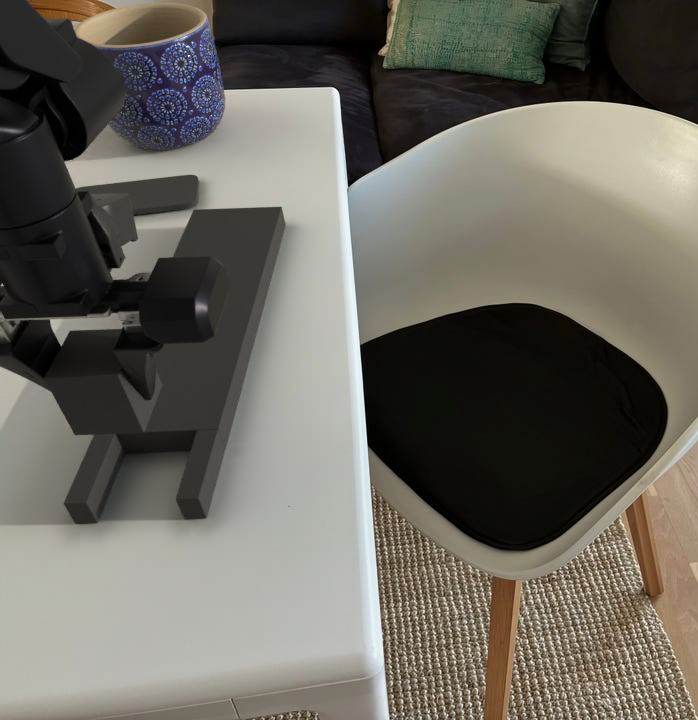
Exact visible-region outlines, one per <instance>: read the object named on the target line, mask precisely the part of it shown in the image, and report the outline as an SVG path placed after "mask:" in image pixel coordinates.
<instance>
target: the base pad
mask: <svg viewBox="0 0 698 720" xmlns="http://www.w3.org/2000/svg"><path fill="white" fill-rule="evenodd" d="M285 220H286V219H285V216H284V211H283V207H282V206H258V207H256V206H255V207H232V208H231V207H230V208H229V207H228V208H227V207H225V208H202V209H201V208H200V209H199V208H198V209H197V208H196V209H193V210H192V212H191V215H190V217H189V219H188V221H187V224H186V226H185V227H184V229H183V233H182V235H181V237H180V240H179V242H178V244H177V246H176V248H175V251H174V253H173V254H172V257H198V256H212V257H214V258H216V259H217V260H218V261H219V262H220V263H221V264H222V265H223V266H224V267H225V268H226V272H227V275H228V279H229V282H230V286H231V288H230V291H229V294H228V297H227V300H226V303H225V306H224V309H223V312H222V315H221V318H220V321H219V324H218V327H217V330H216V333H215V336H214V337H212V338H210V339H209V340H207V341H205V342H203V343H175V344H165V346H164V347H163V349H162V350H160V351H158V352H157V363H156V370H157V373H158V375H159V378H160V380H161V382H162V388H161V390H160V393H159V395H158V398H157V401H156V403H155V406H154V408H153V411H152V414H151V416H150V419H149V422H148V424H147V427H146V429H145V432H144V433H127V434H100V435H92V438H91V440H90V443H89V445H88V447H87V450H86V452H85V454H84V456H83V458H82V460H81V463H80V465H79V468H78V470H77V472H76V475H75V476H74V478H73V481H72V484H71V485H70V488H69V490H68V492H67V494H66V497H65V499H64V502H63V506H64V508H65V509H66V511H67V513H68V514H69V516H70V518H71V519H72V521H73V523H74V524H75V525H78V524H79V525H80V524H81V525H82V524H97V523H99V521H100V519H101V516H102V513H103V511H104V509H105V506H106V503H107V501H108V498H109V497H110V496H109V495H110V493H111V491H112V488H113V485H114V483H115V480H116V478H117V475H118V472H119V470H120V467H121V465H122V463H123V460H124V457H125V454H142V453H169V452H189V455H188V457H187V461H186V465H185V468H184V471H183V474H182V478H181V480H180V483H179V487H178V490H177V494H176V497H175V501H176V503H177V506H178V507H179V510H180V513H181V515H182V517H183V519H184V520H198V519H207V518H208V515H209V512H210V508H211V505H212V500H213V496H214V493H215V489H216V486H217V481H218V478H219V474H220V470H221V467H222V463H223V460H224V455H225V452H226V448H227V445H228V441H229V438H230V434H231V429H232V426H233V422H234V419H235V415H236V412H237V408H238V404H239V400H240V397H241V393H242V390H243V386H244V382H245V379H246V374H247V371H248V367H249V363H250V359H251V355H252V351H253V348H254V345H255V341H256V337H257V333H258V329H259V325H260V322H261V318H262V316H263V311H264V307H265V303H266V300H267V296H268V292H269V288H270V285H271V281H272V277H273V273H274V270H275V266H276V263H277V259H278V256H279V252H280V247H281V244H282V240H283V236H284V233H285V230H286V224H287V223H286V221H285Z"/></svg>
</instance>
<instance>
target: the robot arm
mask: <svg viewBox="0 0 698 720" xmlns="http://www.w3.org/2000/svg"><path fill="white" fill-rule="evenodd" d="M74 29H75V27H74V25H73V21H72V20H71V19H70V18H44V17H43V15H42V14H41V13H40V12H38V11H37V9H36V8H35V7H34V6H33V5H32V4H31V3H30V2H29V1H28V0H0V368H2V369H3V370H6V371H9V372H11V373H13V374H16V375H17V376H19V377H21V378H24V379H26V380H28V381H30V382H32V383H34V384H36V385H37V386H39V387H41V388H43V389H45V390H47V391H48V392H50V393H51V391H50V389H49V387H48V385H47V383H46V382H45V380H44V377H45V375H46V373H47V372H48V370H49V368H50V366H51V364H52V362H53V361H54V359H55V357H56V355H57V353H58V351H59V350H60V348H61V346H62V344H60V341H59V340H58V338H57V335H56V333H55V332H54V329H53V327H52V324H51V320H71V319H72V320H73V319H74V320H75V319H101V318H102V319H103V318H104V319H105V318H109V317H110V316H111V315H112V314H117V316H118V318H119V321H120V322H122V323H121V325H122V328H120V329H121V332H120V334H119V336H118V338H117V340H116V342H115V344H114V346H113V348H112V351H113V353H114V354H115V356H116V357H117V359H118V361H119V362H120V364H121V366H122V367H123V369H124V370H125V372H126V374H127V375H128V377H129V379H130V380H131V382H132V384H133V385H134V387H135V389H136V390H137V391H138V392H139V394H140V395H141V396H142V397H143V398H144V399H145V400H151V399H152V397H153V394H154V391H155V380H156V363H157V352H158V351H160V350H162V349H163V347H164V346H165V344H175V343H203V342H205V341H207V340H209V339H210V338H212V337H214V336H215V333H216V330H217V327H218V324H219V321H220V318H221V315H222V312H223V309H224V306H225V303H226V300H227V297H228V294H229V291H230V288H231V286H230V282H229V279H228V275H227V272H226V268H225V267H224V266H223V265H222V264H221V263H220V262H219V261H218V260H217V259H216V258H214V257H212V256H198V257H173V256H171V257H158V258H157V260H156V262H155V264H154V266H153V269H152V271H149V272H148V271H147V272H139V273H135V274H133V275H131V277H129V278H124V279H123V278H122V279H113V276H112V274H111V272H112V271H113V269H121V267H122V265H123V263H124V261H125V260H126V256H125V255H126V254H125V253H124V250H123V247H124V246H125V245H126V244H128V243H129V242H133V243H134V242H136V241H138V240H139V236H138V230H137V226H136V221H135V220H136V219H135V215H133V210H132V205H131V200H130V195H129V194H126V193H112V194H90V193H89V191H76V187H75V184H74V182H73V179H72V177H71V174H70V172H69V169H68V167H67V165H66V162H68V161H73V160H75V159H77V158H79V157H81V156H82V155H83V153H84V152H85V151H86V150H87V149H88V148H89V147H90V146H91V144H92V143H93V142H94V141H95V140H96V139H97V138H98V137H99V136H100V134H101V133H102V132H103V131H104V129H106V127H107V126H109V125H108V124H109V123H110V121H111V120H112V119H113V118H114V117H115V116H116V115H117V113H118V112H119V111H120V110H121V109H122V107H123V104H124V102H125V95H126V89H125V84H124V80H123V77H122V74H121V72H120V71H119V70H118V69H116V67H115V66H114V64H113V63H112V61H111V60H110V59H109V58H108V57H107V56H106V55H105V54H104V53H103V52H102V51H101V50H99V49H98V48H96V47H95V46H94V45H92V44H90V43H88V42H86V41H84V40H82V39H80V38H77V36H76V33H75V30H74Z"/></svg>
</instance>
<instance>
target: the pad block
mask: <svg viewBox="0 0 698 720" xmlns="http://www.w3.org/2000/svg"><path fill="white" fill-rule="evenodd" d="M121 329H122V328H107V329H106V328H105V329H77V330H75V329H73V330H69V331H68V333H67V335H66V337H65V339H64V341H63V342H62V344H61V348H60V350H59V351H58V353H57V355H56V357H55V359H54V361H53V362H52V364H51V366H50V368H49V370H48V372H47V373H46V375H45V377H44V380H45V382H46V383H47V385H48V387H49V389H50V391H51V392H50V391H49V392H50V393H51V395H52V396H53V398H54V400H55V403H57V405H58V407H59V409H60V411H61V412H62V415H63V416H64V418H65V420H66V422H67V424H68V425H69V428H70V429H71V431H72V433H73V435H74V436H94V435H100V434H127V433H144V432H145V429H146V427H147V424H148V422H149V419H150V416H151V414H152V411H153V408H154V406H155V403H156V401H157V398H158V395H159V393H160V390H161V388H162V382H161V380H160V378H159V375H158V373H157V370H156V380H155V391H154V394H153V397H152V399H151V400H145V399H144V398H143V397H142V396H141V395H140V394H139V392H138V391H137V390H136V389H135V387H134V385H133V384H132V382H131V380H130V379H129V377H128V375H127V374H126V372H125V370H124V369H123V367H122V366H121V364H120V362H119V361H118V359H117V357H116V356H115V354H114V353H113V351H112V348H113V346H114V344H115V342H116V340H117V338H118V336H119V334H120V332H121Z"/></svg>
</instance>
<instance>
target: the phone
mask: <svg viewBox="0 0 698 720" xmlns="http://www.w3.org/2000/svg"><path fill="white" fill-rule="evenodd" d="M75 189H76V191H89V193H90V194H112V193H126V194H129V195H130V200H131V205H132V210H133V215H134V216H137V215H145V214H153V213H160V212H161V213H162V212H169V211H171V212H172V211H178V210H185V209H191V208H194V207H195V206H197V205H198V203H199V196H200V195H199V193H200V180H199V177H198V176H197V175H196V174H183V175H174V176H165V177H156V178H147V179H138V180H129V181H120V182H111V183H104V184H103V183H102V184H95V185H86V186H85V185H84V186H79V187H75Z"/></svg>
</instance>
